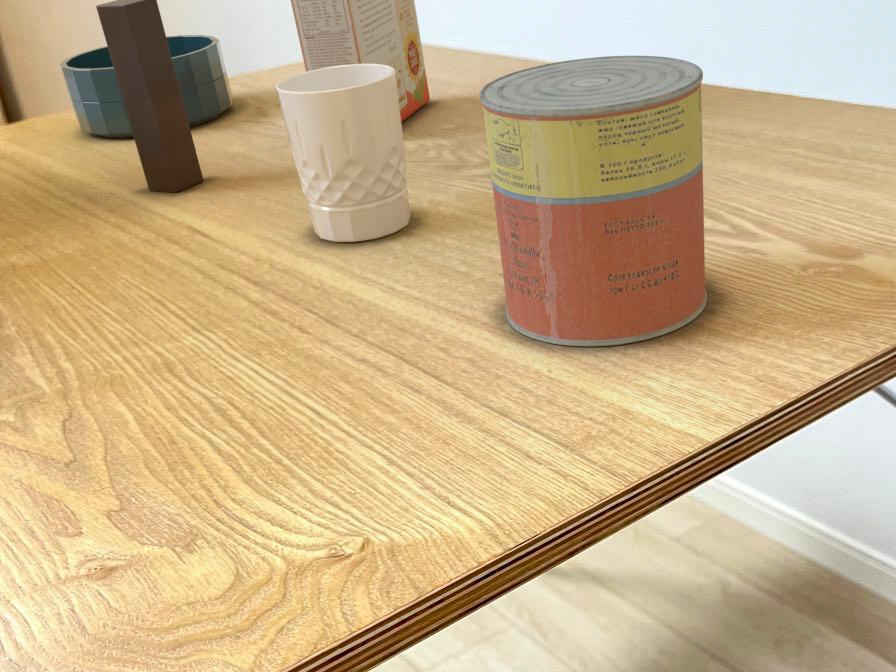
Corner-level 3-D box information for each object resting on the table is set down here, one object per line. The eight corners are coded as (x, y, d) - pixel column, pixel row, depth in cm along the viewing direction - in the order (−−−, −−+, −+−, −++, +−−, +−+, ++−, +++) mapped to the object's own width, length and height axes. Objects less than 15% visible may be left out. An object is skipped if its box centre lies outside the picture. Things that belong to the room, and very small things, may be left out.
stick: (148, 190, 94) (95, 5, 86) (176, 178, 96) (126, -3, 88) (176, 193, 92) (125, 5, 85) (204, 181, 95) (156, -4, 87)
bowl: (49, 137, 114) (26, 68, 110) (158, 98, 125) (141, 34, 121) (158, 143, 107) (138, 70, 104) (264, 102, 118) (249, 34, 114)
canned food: (694, 259, 69) (689, 47, 62) (719, 335, 59) (716, 95, 53) (508, 277, 69) (483, 68, 63) (504, 355, 60) (474, 120, 53)
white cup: (319, 213, 84) (289, 70, 78) (425, 204, 83) (402, 58, 78) (296, 250, 77) (262, 97, 72) (411, 241, 77) (385, 85, 71)
